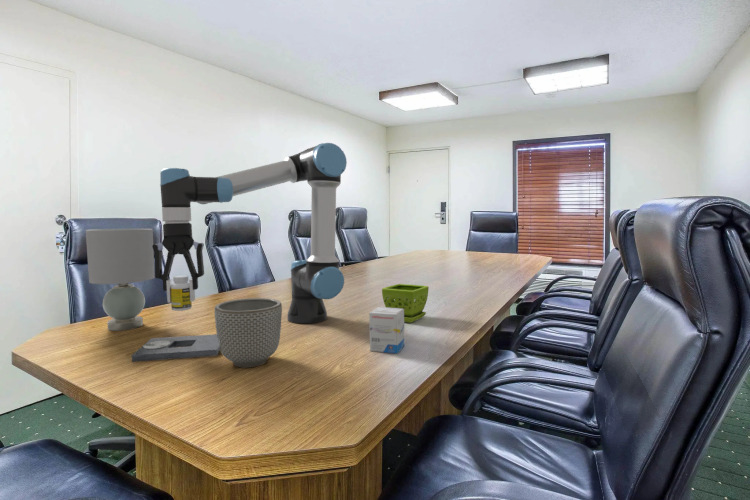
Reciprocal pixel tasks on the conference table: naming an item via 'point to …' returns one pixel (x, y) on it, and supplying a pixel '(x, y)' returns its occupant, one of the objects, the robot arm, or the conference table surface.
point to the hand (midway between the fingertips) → (181, 300)
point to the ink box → (386, 329)
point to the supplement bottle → (180, 294)
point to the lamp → (121, 271)
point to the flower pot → (406, 299)
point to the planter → (248, 330)
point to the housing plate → (178, 348)
